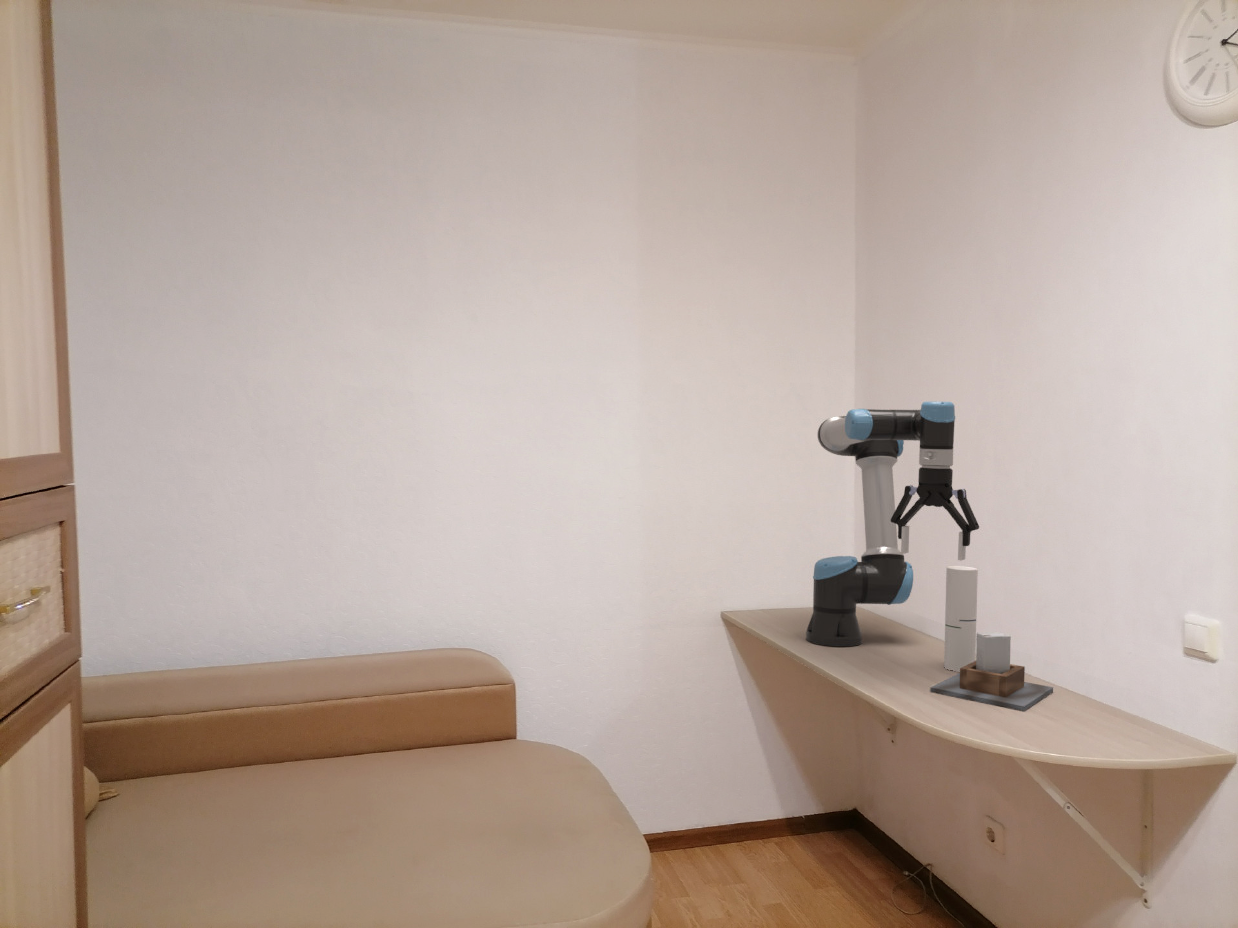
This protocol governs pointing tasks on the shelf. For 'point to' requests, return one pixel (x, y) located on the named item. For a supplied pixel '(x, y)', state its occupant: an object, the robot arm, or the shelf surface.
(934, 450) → the robot arm
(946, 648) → the cylindrical container
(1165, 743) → the shelf surface
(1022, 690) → the socket
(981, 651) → the skincare box
